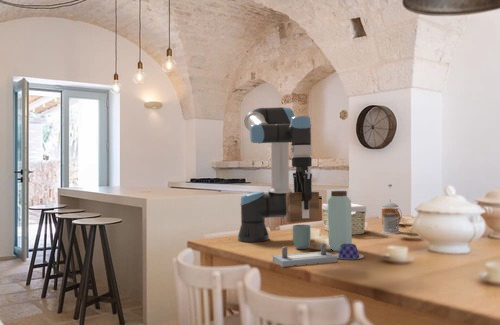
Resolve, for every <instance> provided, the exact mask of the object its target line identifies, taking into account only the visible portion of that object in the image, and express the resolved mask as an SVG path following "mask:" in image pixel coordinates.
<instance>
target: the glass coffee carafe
mask: <svg viewBox="0 0 500 325" xmlns="http://www.w3.org/2000/svg"><path fill="white" fill-rule="evenodd" d="M395 210H397V209H396V207H393V208H391V213H397V215H384V213H390V208H388V207H383V208H381V224H382V225H383V216H396V217H397V216H398V218H399V224H400V222H401V220H402V218H401V212H400V211H399V212H398V210H399V209H398V210H397V211H395ZM399 214H400V216H399ZM400 219H401V220H400ZM396 221H397V219H396ZM396 223H397V222H396ZM391 225H392V224H391Z"/></svg>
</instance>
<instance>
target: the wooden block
mask: <svg viewBox="0 0 500 325" xmlns="http://www.w3.org/2000/svg"><path fill="white" fill-rule="evenodd" d="M301 200H302V192H294V191H293V192H292V193H286V217H285V218H286V222H287V223H290V224H292V223H293V224H294V223H306V222H308V223H310V222H319V221H320V216H321V215H320V192H319V191H312V199H311V200H310V201H309V218H304V219H303V218H302V201H301Z"/></svg>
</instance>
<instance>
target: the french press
mask: <svg viewBox="0 0 500 325" xmlns="http://www.w3.org/2000/svg"><path fill="white" fill-rule="evenodd" d="M387 187H389V188H391V187H392V184H391V183H389V184H388V185H387ZM382 207H383V208H390V213H384V215H397V213H391V208H395V209H397V210H398V212H399V213H400V214H399V216H400V217H401V219H400V221H401V220H402V215H403V213H402V210H401V209H400V208H399V205H398V204H397V203H394V202H391V200H389V202H387V203H385V204H383V205H382ZM397 210H395V211H397ZM396 219H397V221H396ZM396 222H397V223H396ZM391 224H392V225H391ZM399 224H400V223H399V218H398V216H397V217H396V216H383V224H382V225H383V228H382V231H381V233H382V234H389V235H391V234H392V235H393V234H401V231H400V229H399V228H400V227H399V226H400V225H399Z"/></svg>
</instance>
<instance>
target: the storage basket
mask: <svg viewBox="0 0 500 325" xmlns="http://www.w3.org/2000/svg"><path fill="white" fill-rule="evenodd" d="M321 209H322V215H323V216H322V219H323V227H324V228H323V229H324V230H325V231H326V232H329V228H328V203H322V205H321ZM366 212H367V206H366V205H362V204H357V203H352V202H351V227H352V236H353V235H363V234H364V233H365V227H366V214H367V213H366Z"/></svg>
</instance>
